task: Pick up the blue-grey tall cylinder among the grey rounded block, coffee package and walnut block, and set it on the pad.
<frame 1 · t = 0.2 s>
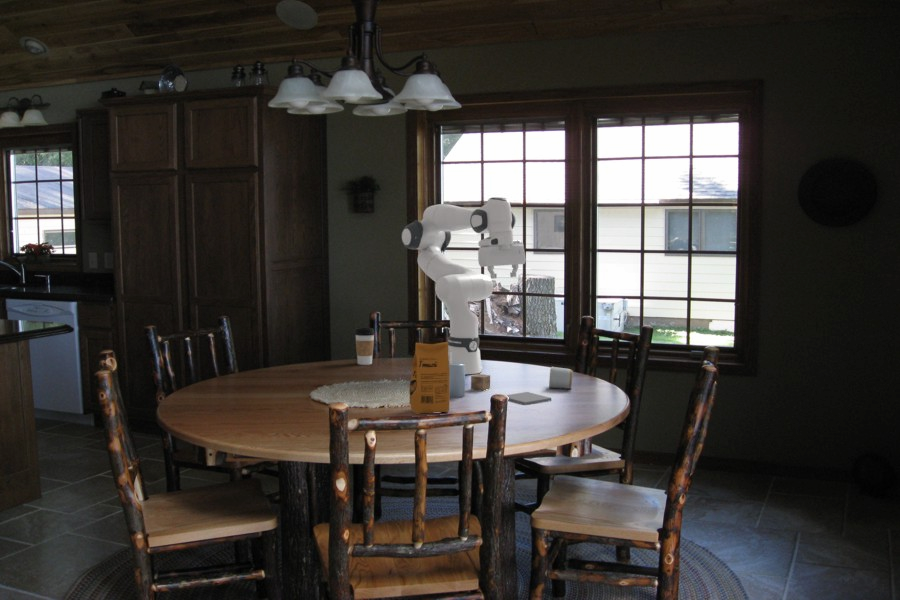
hand: (503, 277, 314), 39 cm above the table, tool pointing down, fingers open, 8 cm apart
blue-grey tall cylinder: (456, 395, 292), on the table
coffee package: (429, 411, 269), on the table
walnut block: (480, 389, 303), on the table
grey rounded block: (560, 388, 308), on the table
coffee cup: (364, 364, 353), on the table
pad: (526, 399, 287), on the table
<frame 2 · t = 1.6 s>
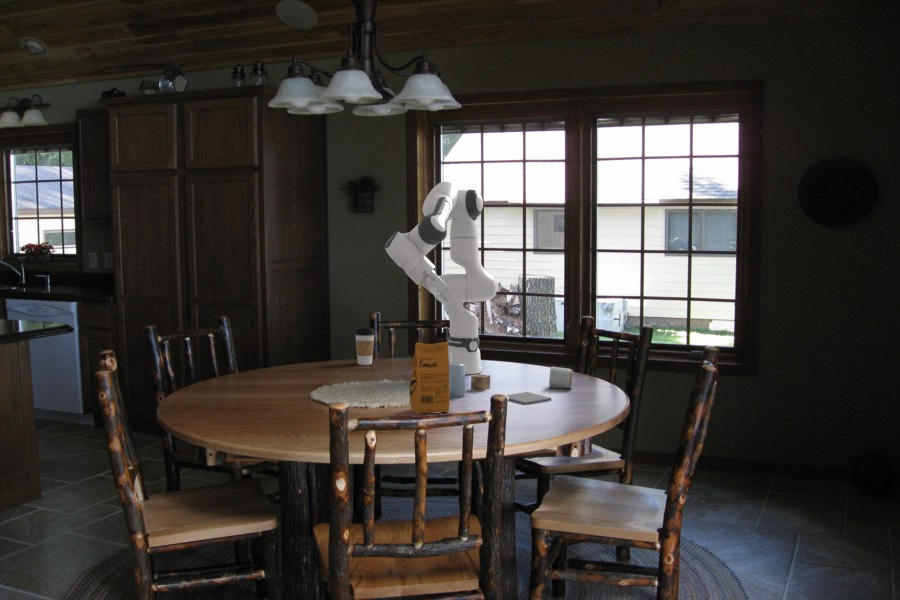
hand: (450, 301, 290), 33 cm above the table, tool tilted 45°, fingers open, 8 cm apart
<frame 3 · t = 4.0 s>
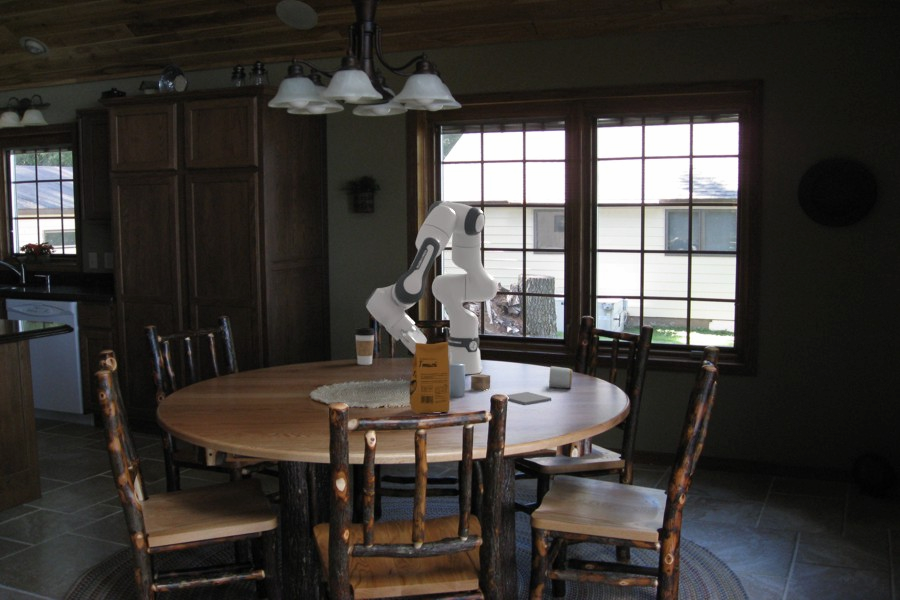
hand: (431, 357, 291), 13 cm above the table, tool tilted 45°, fingers open, 8 cm apart
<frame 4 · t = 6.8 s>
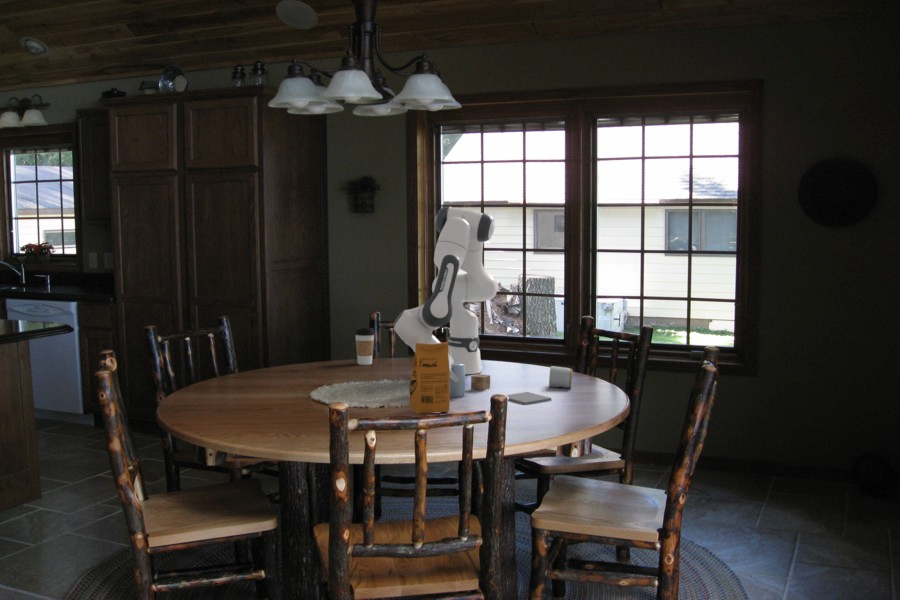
hand: (458, 378, 291), 6 cm above the table, tool tilted 45°, fingers closed on blue-grey tall cylinder, 6 cm apart
blue-grey tall cylinder: (456, 395, 292), on the table, touching gripper
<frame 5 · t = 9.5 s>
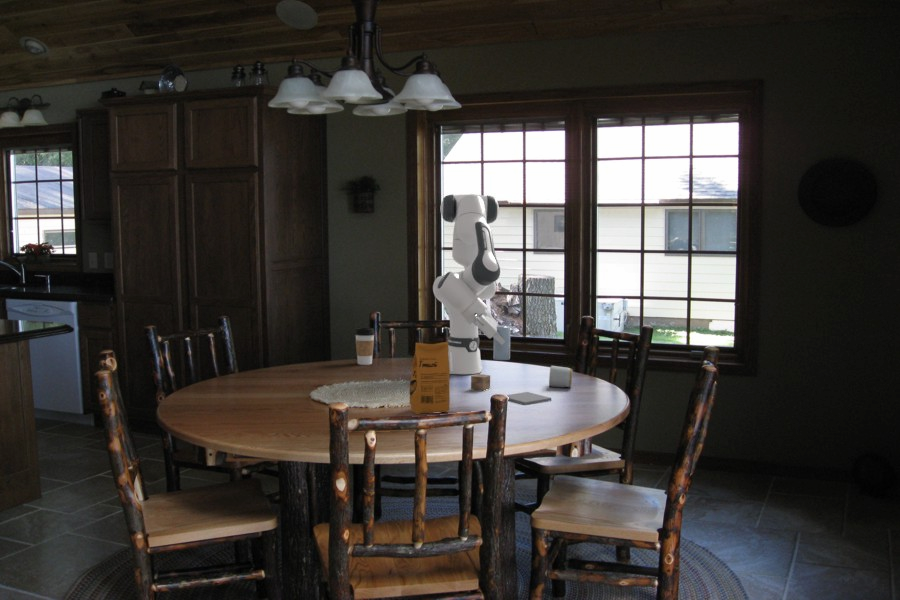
hand: (503, 341, 286), 20 cm above the table, tool tilted 45°, fingers closed on blue-grey tall cylinder, 6 cm apart
blue-grey tall cylinder: (501, 358, 287), point 14 cm above the table, touching gripper
when the fingers open (8 cm above the table, at t = 12.7 s): blue-grey tall cylinder drops 1 cm, resting on pad.
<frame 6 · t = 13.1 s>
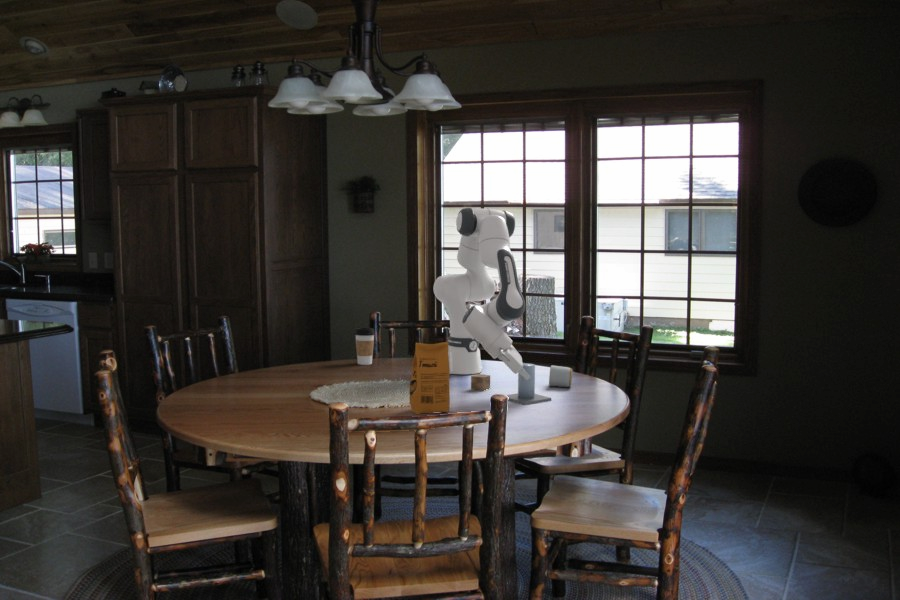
hand: (528, 375, 286), 8 cm above the table, tool tilted 45°, fingers open, 8 cm apart
blue-grey tall cylinder: (526, 396, 287), point 1 cm above the table, touching pad
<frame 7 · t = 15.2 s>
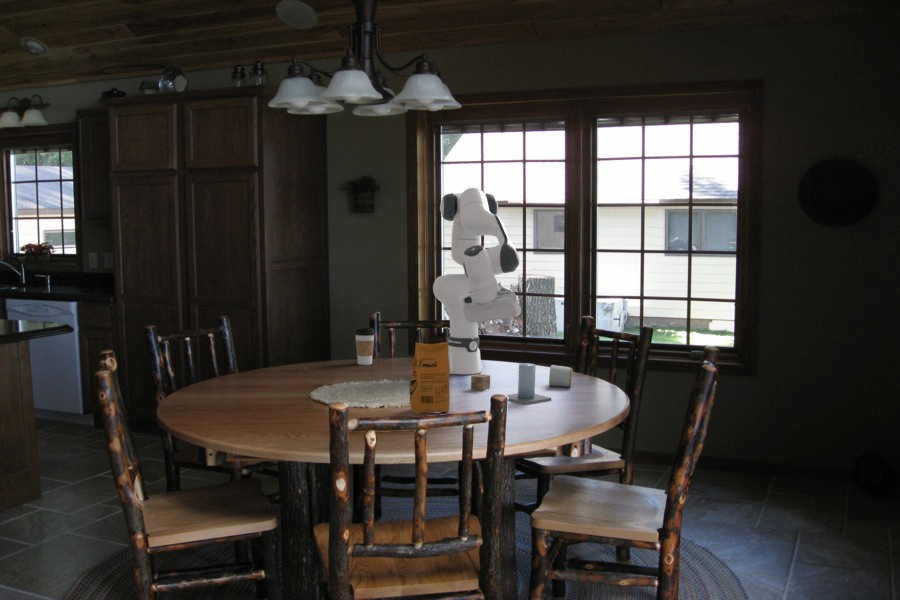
hand: (498, 331, 287), 23 cm above the table, tool tilted 20°, fingers open, 8 cm apart
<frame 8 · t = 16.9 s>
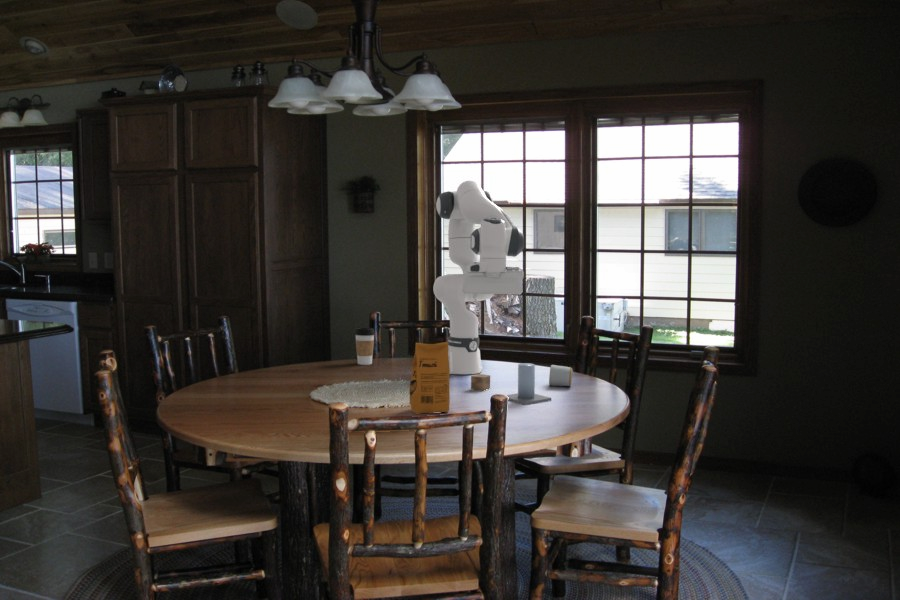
hand: (492, 307, 285), 31 cm above the table, tool pointing down, fingers open, 8 cm apart
at the end: blue-grey tall cylinder inside the target area on the pad (0.1 cm from its centre), point 0.9 cm above the pad's base; blue-grey tall cylinder tilted 1°; the gripper is holding nothing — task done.
